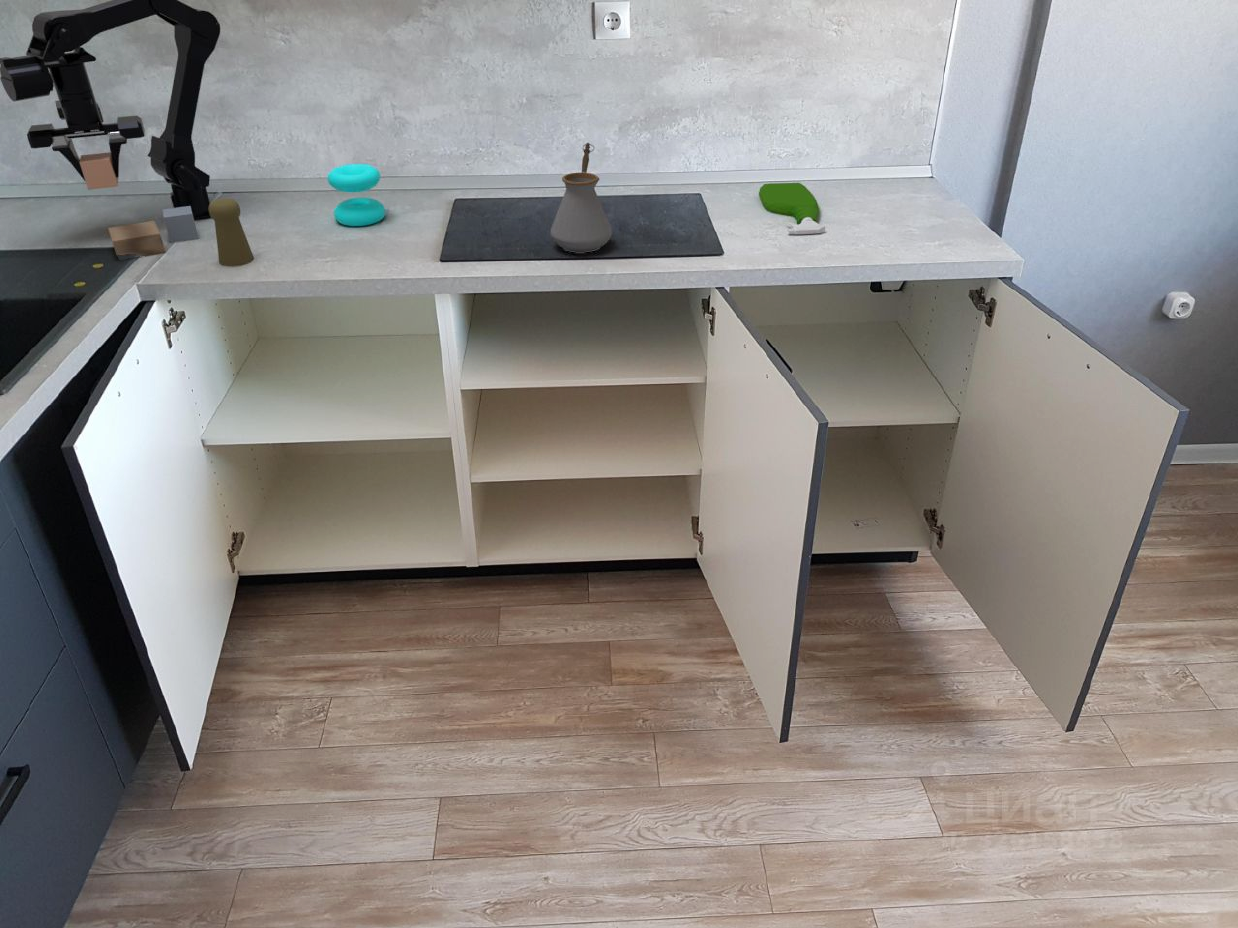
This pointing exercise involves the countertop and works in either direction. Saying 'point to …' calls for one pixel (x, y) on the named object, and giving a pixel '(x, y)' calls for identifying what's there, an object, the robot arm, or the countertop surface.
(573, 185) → the coffee pot
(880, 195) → the countertop surface
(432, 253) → the countertop surface
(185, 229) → the slate grey cube
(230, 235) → the olive pawn
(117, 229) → the walnut base block
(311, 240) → the countertop surface
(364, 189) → the donuts
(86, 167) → the terracotta cube
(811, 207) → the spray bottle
